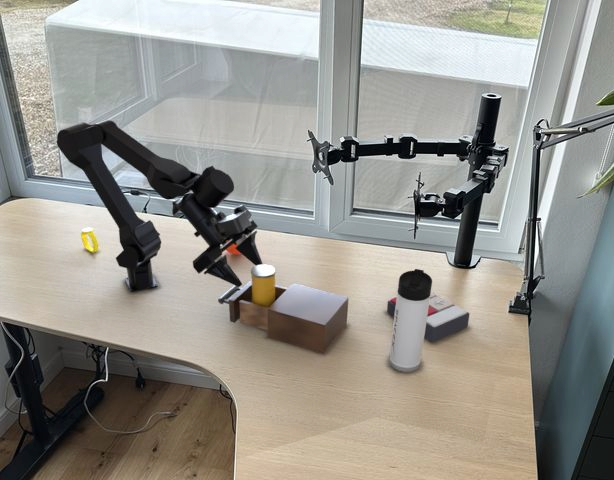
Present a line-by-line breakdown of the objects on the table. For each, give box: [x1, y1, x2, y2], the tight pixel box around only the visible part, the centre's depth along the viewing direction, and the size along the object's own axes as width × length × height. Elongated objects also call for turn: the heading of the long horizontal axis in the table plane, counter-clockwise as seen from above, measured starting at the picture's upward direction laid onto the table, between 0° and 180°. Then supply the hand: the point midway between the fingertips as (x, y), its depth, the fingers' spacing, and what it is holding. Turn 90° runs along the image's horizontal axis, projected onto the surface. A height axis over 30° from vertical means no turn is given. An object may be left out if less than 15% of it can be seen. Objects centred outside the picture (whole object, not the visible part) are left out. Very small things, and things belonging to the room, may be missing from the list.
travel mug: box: [388, 268, 433, 373], centre depth 128 cm, size 6×7×20 cm
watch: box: [80, 227, 100, 254], centre depth 169 cm, size 6×3×6 cm, turn 45°
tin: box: [250, 263, 276, 308], centre depth 142 cm, size 5×5×10 cm
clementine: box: [225, 240, 242, 255], centre depth 170 cm, size 8×7×7 cm
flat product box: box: [386, 291, 470, 343], centre depth 146 cm, size 11×4×15 cm
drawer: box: [217, 279, 289, 331], centre depth 145 cm, size 16×11×6 cm
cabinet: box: [267, 282, 349, 355], centre depth 140 cm, size 13×12×7 cm
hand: (251, 276), depth 141 cm, fingers open, 9 cm apart
